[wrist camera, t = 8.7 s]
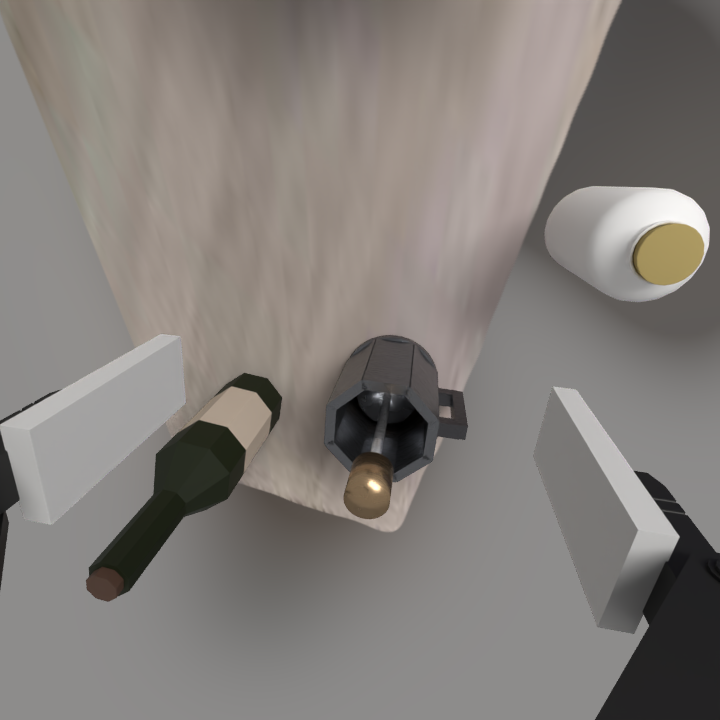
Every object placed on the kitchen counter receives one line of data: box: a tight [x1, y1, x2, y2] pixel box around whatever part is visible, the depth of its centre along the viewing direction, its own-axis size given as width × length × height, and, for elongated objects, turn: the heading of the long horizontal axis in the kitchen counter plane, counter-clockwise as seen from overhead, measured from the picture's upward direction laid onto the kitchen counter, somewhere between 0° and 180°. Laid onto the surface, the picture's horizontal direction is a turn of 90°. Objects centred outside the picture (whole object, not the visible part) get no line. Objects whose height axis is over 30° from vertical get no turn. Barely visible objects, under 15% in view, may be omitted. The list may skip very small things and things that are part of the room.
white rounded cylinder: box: [544, 186, 710, 302], centre depth 38 cm, size 8×8×18 cm
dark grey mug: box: [324, 335, 468, 482], centre depth 49 cm, size 12×14×13 cm
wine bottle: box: [86, 373, 282, 601], centre depth 46 cm, size 8×8×30 cm
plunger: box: [344, 390, 415, 519], centre depth 43 cm, size 7×7×19 cm
